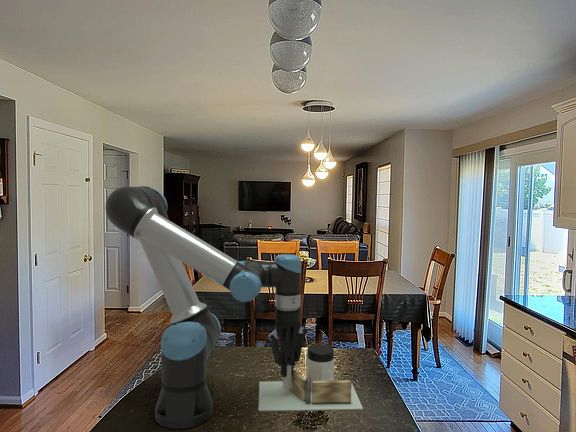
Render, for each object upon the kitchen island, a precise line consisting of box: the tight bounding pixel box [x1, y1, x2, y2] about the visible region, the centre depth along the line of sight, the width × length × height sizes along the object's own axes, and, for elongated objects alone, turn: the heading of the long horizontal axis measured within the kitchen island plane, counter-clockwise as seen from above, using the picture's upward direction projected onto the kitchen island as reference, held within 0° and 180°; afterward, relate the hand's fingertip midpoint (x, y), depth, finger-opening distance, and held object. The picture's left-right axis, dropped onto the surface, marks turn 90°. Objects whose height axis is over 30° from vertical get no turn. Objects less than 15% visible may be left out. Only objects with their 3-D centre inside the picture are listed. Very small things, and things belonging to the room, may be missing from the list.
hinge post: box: [305, 377, 311, 404], centre depth 119 cm, size 1×1×8 cm
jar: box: [305, 343, 335, 391], centre depth 128 cm, size 9×8×12 cm
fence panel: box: [288, 369, 306, 400], centre depth 124 cm, size 11×2×6 cm, turn 33°
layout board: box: [258, 380, 364, 412], centre depth 124 cm, size 29×17×1 cm, turn 93°
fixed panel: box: [312, 379, 353, 403], centre depth 119 cm, size 11×2×6 cm, turn 93°
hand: (286, 386), depth 124 cm, fingers closed
